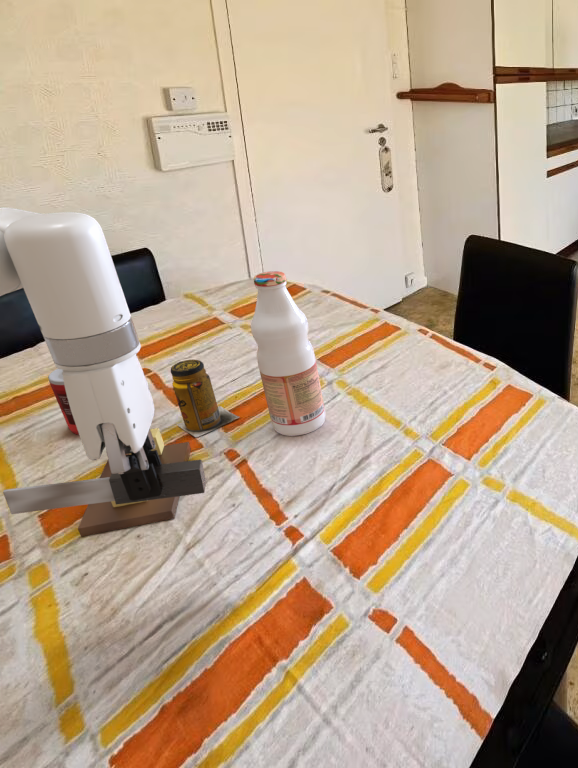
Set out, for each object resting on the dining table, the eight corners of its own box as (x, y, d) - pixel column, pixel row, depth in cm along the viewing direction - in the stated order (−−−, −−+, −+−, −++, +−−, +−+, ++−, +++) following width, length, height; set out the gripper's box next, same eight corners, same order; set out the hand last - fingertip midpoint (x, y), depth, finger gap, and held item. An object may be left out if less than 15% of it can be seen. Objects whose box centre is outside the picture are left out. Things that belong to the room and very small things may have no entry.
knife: (8, 519, 66) (-2, 493, 65) (15, 507, 68) (5, 482, 66) (204, 493, 72) (199, 468, 70) (206, 483, 74) (201, 459, 72)
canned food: (105, 409, 119) (86, 357, 114) (126, 421, 115) (107, 368, 110) (61, 427, 113) (39, 373, 108) (82, 440, 109) (59, 385, 104)
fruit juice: (266, 438, 109) (229, 286, 96) (280, 411, 117) (248, 267, 104) (321, 435, 110) (292, 284, 96) (330, 408, 118) (305, 265, 105)
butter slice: (131, 460, 101) (124, 442, 100) (135, 450, 104) (128, 432, 102) (161, 454, 102) (155, 437, 101) (164, 445, 105) (158, 427, 103)
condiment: (176, 425, 113) (157, 366, 108) (220, 406, 119) (204, 349, 114) (196, 438, 109) (177, 378, 104) (240, 418, 115) (225, 360, 109)
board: (81, 536, 87) (77, 528, 87) (112, 462, 103) (109, 454, 103) (174, 518, 91) (171, 510, 90) (191, 448, 107) (188, 441, 106)
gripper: (74, 318, 68) (126, 457, 76) (22, 383, 54) (93, 543, 63) (150, 309, 70) (193, 446, 78) (118, 369, 56) (174, 526, 65)
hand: (148, 488), depth 71 cm, fingers closed on knife, 2 cm apart
